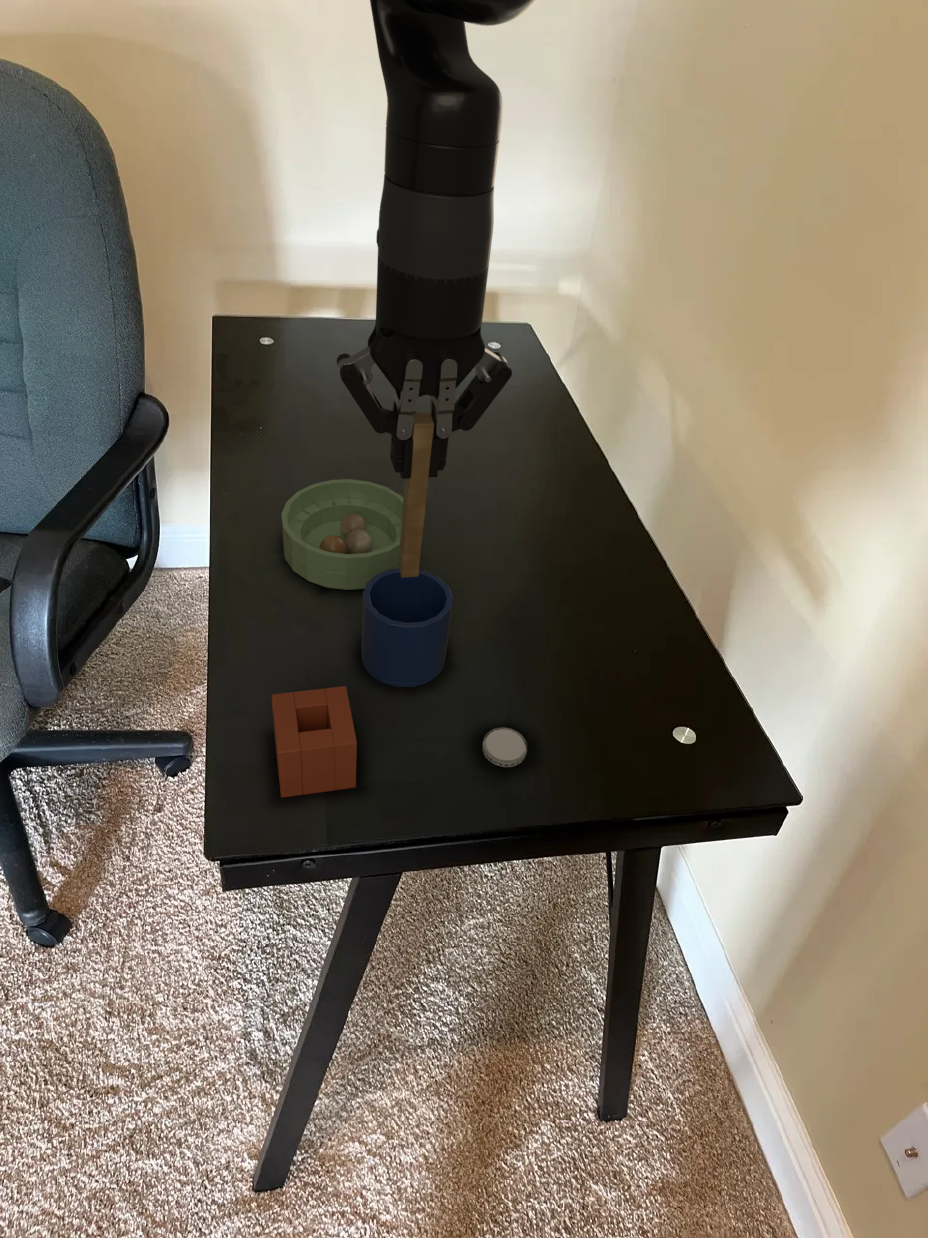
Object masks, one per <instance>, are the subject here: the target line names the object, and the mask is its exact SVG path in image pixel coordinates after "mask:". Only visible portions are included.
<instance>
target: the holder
mask: <svg viewBox="0 0 928 1238" xmlns="http://www.w3.org/2000/svg"><path fill="white" fill-rule="evenodd" d="M270 697H271V705H272V706H271V708H272V718H273V719H272V720H273V733H274V745H275V755H276V762H277V774H278V782H279V783H278V784H279V792H280V798H281V799H282V798H289V797H295V796H303V795H312V794H319V793H325V792H332V791H339V790H347V789H348V790H349V789H354V788H356V787H357V756H358V753H357V751H358V742H357V737H356V729H355V725H354V721H353V716H352V709H351V704H350V700H349V695H348V689H347V686H346V685H343V686H342V685H341V686H333V687H325V688H317V689H316V688H315V689H308V690H307V689H306V690H299V691H298V690H297V691H290V692H289V691H288V692H281V693H280V692H279V693H272V694H271V696H270Z"/></svg>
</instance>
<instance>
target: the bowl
mask: <svg viewBox="0 0 928 1238" xmlns="http://www.w3.org/2000/svg"><path fill="white" fill-rule="evenodd" d="M403 499H404V496H402V495H401V494H399V493H397V492H396V491H394V490H393V489H391V488H389V487H387V486H384V485H382V484H378V483H375V482H372V481H368V480H359V479H351V478H346V479H345V478H344V479H342V478H341V479H329V480H325V481H321V482H320V481H319V482H316V483H313V484H310V485H308V486H306V487H303V488H302V489H300V490H297V491H296V492H295V493H293V495H292V496H291V497H290V498H289V499H288V500H287V501H286V502H285V504H284V506H283V508H282V511H281V514H280V516H281V519H280V520H281V533H282V548H283V556H284V559H285V561H286V562H287V564H288V565H289V567H290V568H291V570H292V571H293V572H294V573H296V574H297V575H298V576H300V577H301V578H304V580H305V581H308V582H311V583H313V584H317V585H319V586H321V587H324V588H328V589H337V590H343V591H344V590H345V591H347V590H348V591H350V590H351V591H352V590H364V589H365V587H366V584H367V583H368V582H369V581H370V580H371V579H372V578H373V577H375V576H376V575H377V574H379V573H382V572H385V571H387V570H390V569H397V568H399V567H398V562H399V550H400V537H401V525H402V512H403ZM351 513H356V514H359V515H361V516H362V517H363V518H364V519H365V520H366V523H367V531H366V532H368V533H369V534H370V536H371V538H372V541H373V545H372V549H371V551H370V552H369V553H360V554H350V553H349V552H348V550H347V554H341V553H334V552H327V551H324V550H321V549H319V547H320V543H321V542H322V540H323V539H324V538H326V537H328V536H331V535H335V536H339V537H341V538H342V539H343V540H344V541H345V540H346V537H345V536H344V535H343V534H342V532H341V529H340V524H341V521H342V519H343V518H344V517H345V516H346V515H348V514H351Z"/></svg>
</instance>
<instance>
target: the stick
mask: <svg viewBox="0 0 928 1238" xmlns="http://www.w3.org/2000/svg"><path fill="white" fill-rule="evenodd" d="M433 433H434V422H433V419H432V416H431V414H430V412H416V414H414V422H413V430H412V435H411V437H412V439H413V440H414V441H413V455H412V470H411V478H408V479H404V486H403V487H404V489H403V498H404V499H403V512H402V525H401V537H400V550H399V562H398V567H399V571H400V575H401V578H405V577H418V576H419V570H420V565H421V556H422V548H423V547H422V546H423V536H424V527H425V519H426V518H425V517H426V510H427V509H426V507H427V500H428V499H427V498H428V491H429V490H428V488H429V480H430V477H429V467H430V457H431V448H432V439H433ZM428 477H429V478H428Z"/></svg>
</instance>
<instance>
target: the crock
mask: <svg viewBox="0 0 928 1238" xmlns="http://www.w3.org/2000/svg"><path fill="white" fill-rule="evenodd" d="M453 602H454V597H453V594H452V591H451V588H450V586H449V585H448V584H447V583H446V582H445V581H444V580H443V579H442V578H441V577H440V576H437V575H435V574H433V573H431V572H429V571H427V570H425V569H424V570H423V569H419V576H418V577H405V578H401V575H400V571H399V568H397V569H390V570H387V571H385V572H382V573H379V574H377V575H376V576H375V577H373V578H372V579H371V580H370V581H369V582H368V583H367V584H366V587H365V589H363V592H362V603H361V605H362V607H361V613H362V614H361V641H360V642H361V644H360V652H361V661H362V664H363V666H364V669H365V670H366V671H367V673H368V674H369V675H370V676H371V677H372V678H374V679H375V680H377V681H378V682H381V683H383V684H385V685H388V686H390V687H391V686H392V687H395V688H396V687H397V688H414V687H419V686H423V685H425V684H427V683H430V682H431V681H433V680H434V679H435V678H437V677H438V676H439V675H440V673H442V670H443V669H444V667H445V661H446V656H447V650H448V644H449V635H450V627H451V620H452V612H453Z"/></svg>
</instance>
